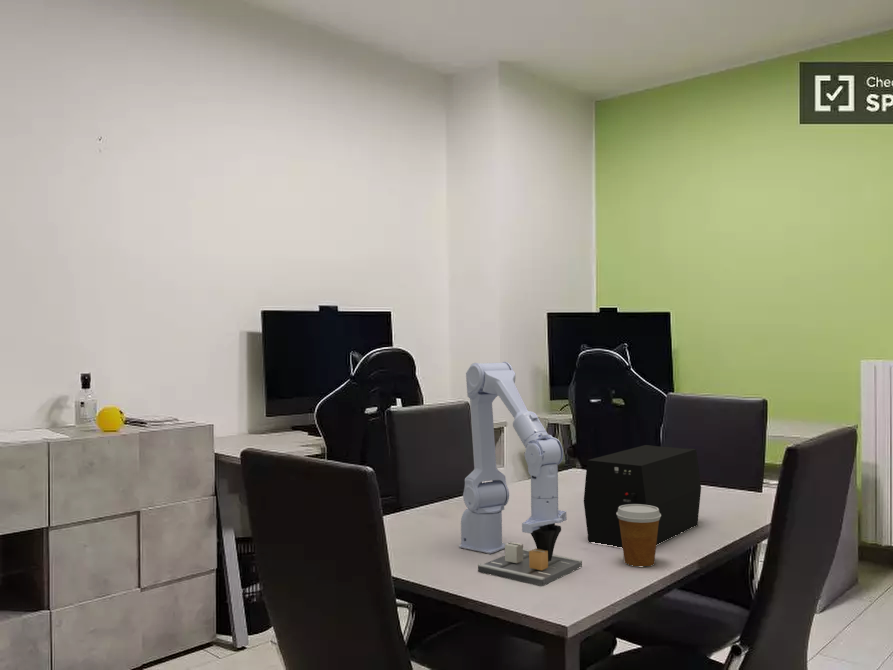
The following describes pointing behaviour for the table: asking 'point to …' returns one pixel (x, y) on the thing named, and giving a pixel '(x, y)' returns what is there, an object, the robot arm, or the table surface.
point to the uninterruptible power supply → (642, 490)
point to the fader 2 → (538, 559)
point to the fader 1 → (514, 552)
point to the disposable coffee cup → (639, 533)
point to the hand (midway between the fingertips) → (545, 560)
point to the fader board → (530, 569)
